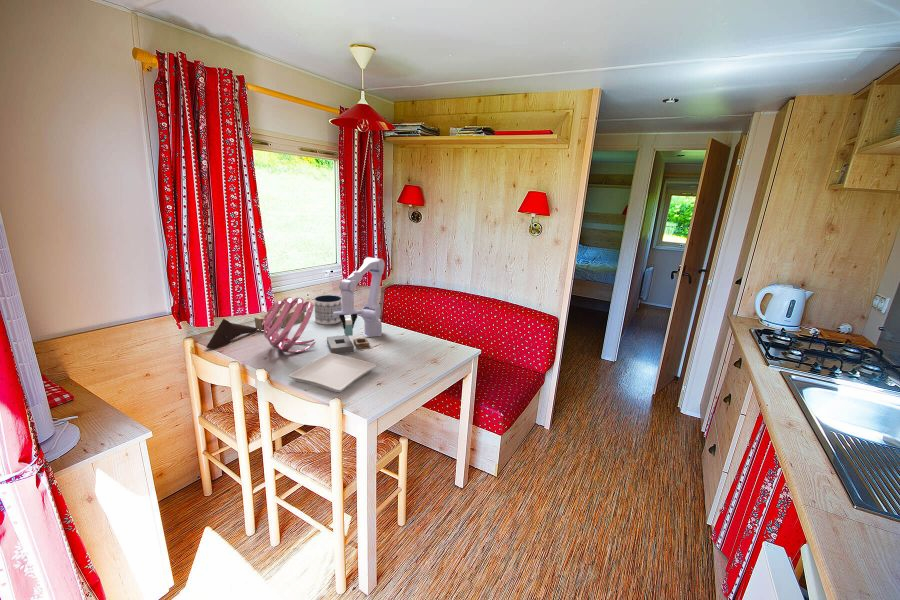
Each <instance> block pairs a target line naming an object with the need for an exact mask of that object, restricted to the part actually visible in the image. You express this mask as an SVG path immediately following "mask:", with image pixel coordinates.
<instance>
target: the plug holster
mask: <svg viewBox="0 0 900 600" xmlns="http://www.w3.org/2000/svg"><path fill="white" fill-rule="evenodd" d="M352 340H353V341H352V343H353V345H354V348H356V349H364V348H365V349H366V348H370V342H369V340H368V339H367V337H359V338H353V339H352Z"/></svg>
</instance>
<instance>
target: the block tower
mask: <svg viewBox="0 0 900 600" xmlns="http://www.w3.org/2000/svg"><path fill="white" fill-rule="evenodd" d="M295 309H296V306H294V307H293V308H292V309H291V311H290V312H289V314H288V315H287V317H286V318H285V320H284V321H283V323H282V325H281V328H284V327H286V325H287V324H288V322H289V320H290V318H291V317H292V315H293V313H294V311H295ZM282 310H283V309H280V311H279V312H278V314H277V315H276V317H275V319H274V320H273V322H272V324H271V327H272V326H273V325H274V323H275V322H276V320H277V318H278V317H279V315H280V313H281V312H282ZM307 310H308V309H307V308H306V309H305V310H304V311H303V312H302V313H301V315H300V316H299V317H298V319H297V320H296V322H295V324H297V322H298V323H302V321H303V319H304V317H305V315H306V314H305V313H307ZM266 314H267V313H265V314H262V315H259V316H254V317H253V318H254V326H255V328H257V329H259V330H264V329H263V327H262V323H263V319H264V316H265V315H266ZM270 314H271V313H270ZM270 314H269V315H270ZM268 317H269V316H268ZM283 326H284V327H283ZM271 327H270V328H271ZM259 330H258V331H259Z"/></svg>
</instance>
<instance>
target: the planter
mask: <svg viewBox="0 0 900 600" xmlns="http://www.w3.org/2000/svg"><path fill="white" fill-rule="evenodd" d="M313 301H314V303H313V304H314V322H316V323H317V324H321V325H334V324H338V323H340V322H342V321H341V319H340V317H339V316H333V312H336V311H342V296H339V295H334V294H325V295H319V296H316V297H315V298H314V300H313Z"/></svg>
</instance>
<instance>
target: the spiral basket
mask: <svg viewBox="0 0 900 600" xmlns="http://www.w3.org/2000/svg"><path fill="white" fill-rule="evenodd" d="M293 307H296V309H295V311H294V313H293V315H292V317H291V318H290V320H289V322H288V324H287V325H286V326H284V327H283V328H284V329H283V330H282V331H281V333H280V334H279V330H280V329H281V328H282V327H281V325H282V323H283V321H284V320H285V318H286V317H287V315H288V314H289V312H290V311H291V309H292V308H293ZM305 309H306V310H307V312H305V313H306V314H305V317H304V319H303V321H301V322H300V325H299V327H298V329H297V330H296V332H295V334H294V335H293V336H292V337H291V338H288V337H289V334H290V333H291V330H292V329H293V326H294V325H295V324H296V323H295V322H296V320H297V319H298V317H299V316H300V315H301V313H302V312H303V311H304V310H305ZM281 310H282V312H281V313H280V311H281ZM313 311H314V303H313V302H312V301H309V300H307V301H305V302H304V299H303V298H302V297H300V296H299V297H298V296H297V297H296V298H294V299H293V297H290V296H288V297H285V298H284V299H283V300H282V301H281V300H280V299H279V300H277V301H275V302H274V303H273V304H272V306H270V307H269V309H268V311H267V312H266V313H265V314H266V315H265V314H264V315H265V316H264V319H263V323H262V327H263V329H264V331H263V336H264V338H265V339H266V340H267V341H268V342H269V345H270V346H271V347H272V348H275V349H277V350H278V351H280V352H282V353H288V354H298V353H302V352H305V351H308V350H310V348H312V347H313V346H314V345H315V343H316V341H315V339H310V340H299V338H300V337H301V335H302V334H303V333H304V331H305V329H306V327H307V325H308V324H309V321H310V319H311V318H312V314H313ZM270 313H271V314H270ZM278 313H280V315H279V317H278V318H277V320H276V322H275V323H274V325H273V326H272V327H271V324H272V322H273V320H274V319H275V317H276V315H277V314H278ZM269 314H270V315H269ZM268 316H269V317H268ZM294 323H295V324H294ZM270 327H271V328H270ZM280 327H281V328H280ZM312 342H313V343H312ZM309 343H311V344H310V345H309V346H307V347H305V348H303V349H300V350H291V349H292V348H293V347H294V345H305V344H309ZM285 344H286V345H285Z"/></svg>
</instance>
